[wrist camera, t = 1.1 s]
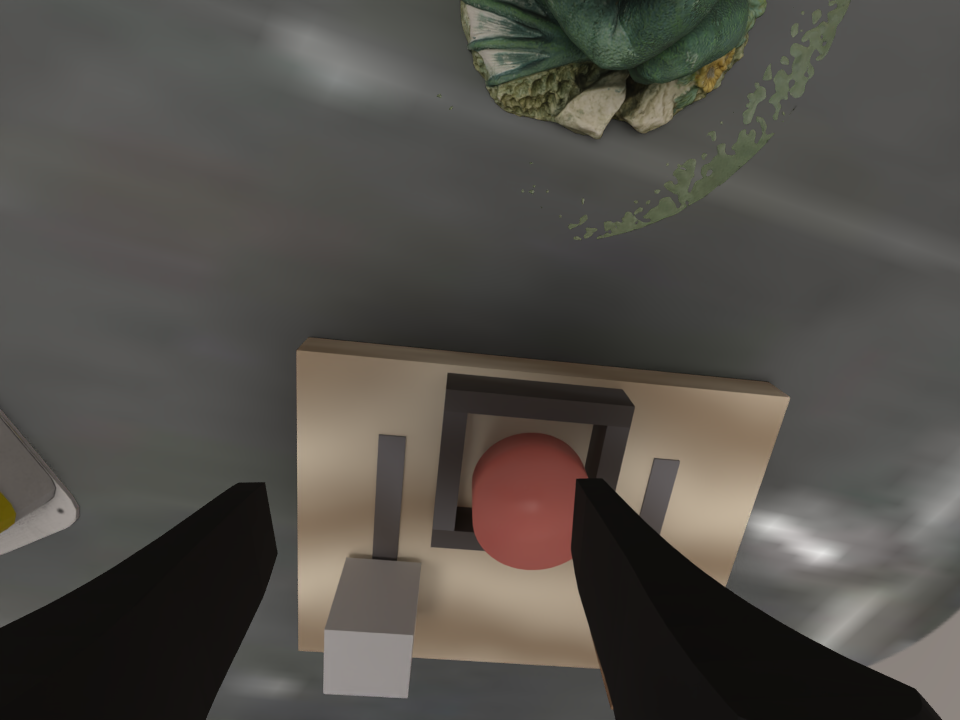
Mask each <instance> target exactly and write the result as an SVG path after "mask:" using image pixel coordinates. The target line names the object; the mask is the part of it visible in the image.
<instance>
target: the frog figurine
mask: <svg viewBox="0 0 960 720" xmlns="http://www.w3.org/2000/svg"><path fill="white" fill-rule="evenodd" d="M460 1H461V22H462V26H463V30H464V33H465V35H466V38H467V41H468V46H467V49H468V50H469V51H471V52H472V55H473V61H474V62H473V64H474V66H475V68H476V70H477V71H479V73H480V74H481V75H482V77H483V78H484V79H485V81H486V82H485V84H486V88H487V90H488V91H489V93H490V96H491V97H492V98H493V99H494V101H495V103H497V105H498V106H500V107H501V108H502V109H503V110H505V111H506V112H509V113H512V114H515V115H518V116H520V117H521V116H525V117H530V118H535V119H538V120H543V121H552V122H556V123H558V124H560V125H562V126H564V127H565V128H567V129H569V130H571V131H573V132H574V133H579V134H582V135H589V136H591V137H592V138H594V139H600V138H601V137H602V134H603V131H604V129H605V128H606V126H607V124H608V123H609V122H610V120H611V118H612V119H617V120H619V121H626V122H627V123H629V124H630V125H631V126H632V127H633V128H634V129H635V130H637V131H638V132H640V133H643V134H644V133H647V132H648V131H651V130H653V129H656V128H658V127H660V126H662V125H664V124H666V123H668V122H669V121H670V120H671V119H672V118H673V116H674V115H675V114H676V113H678V112H679V111H680V110H682V109H684V107H685V106H687V105H689V104H692V103H693V102H695V101H698V100H700V99H702V98H705V97H706V94H707V93H708V92H711V91H712V90H713V89H716V88H718V87H719V86H720V84H721V81H722V79H723V78H724V74H725V73H726V72H727V71H729V70H730V69H731V68H732V66H733V65H734V63H736V62H737V61H739V60H740V59H741V58H742V57H743V49H744V47H745V46H746V44H747V42H748V36H749V35H748V31H749V30H750V29H751V28H752V27H753V26H754V23H755V20H756V18H758V17H760V16H762V15H763V13H764V12H765V9H766V5H767V2H766V0H460ZM850 1H851V0H836V1H831V2H830V1H829V6H833V5H834V4H835V3H837V8H836V9H834V10H833V11H830V12H829V13H828V23H826V22H821V23H820V24H819V26H818V27H816V28H814V29H811V30H809V31H807V32H806V33H805V35H804V36H803V37H802V39H801V41H802V42H805V41H807V40H808V39H809V41H810V46H809V47H804V46H802V45H799V44H797V43H794V44H793V45H792V46H791V49H790V53H791V55H792V56H794V57H795V60H794V62H793V65H792V73H791V74H790V75H787V74H786V73H785V71H784V70H783V69H782V70H780V71H778V73H777V74H776V76H775V77H774V83H775V85H776V86H775V90H776V93H775V94H774V95H773V96H772V97H771V98H770V100H769V103H771V104H773V105H774V107H775V109H776V112H775V114H774V115H773V119H774V120H777V118H778V113H779V111H780V109H781V105H780V103H779V102H780V100H782V99H785V100H787V99H788V96H787V94H788V91H790V95H792V96H793V97H794V98H798V97H800V96H801V95H802V94H803V92H804V91H805V84H806V82H807V81H808V79H810V78H811V77H812V76H813V74H814V68H813V67H812V66H811V64H810V58H811V55H812V53H813V51H814V50H815V49H816V50H818V51H819V53H820V54H821V55H820V56H818V57H817V58H816V60H817V61H820V60H822V59H823V58H824V57H825V55H826V54H827V53H828V51H829V49H830V46H831V44H832V41H833V39H834V37H835V33H836V28H837V25H838V24H839V23H840V22H841V20H842V19H843V17H844V15H845V13H846V11H847V8H848V6H849V3H850ZM843 5H844V6H843ZM793 8H794V7H793ZM801 14H802V15H804V11H802V12H801ZM821 15H822V14H821V11H820V10H819V9H818V10H816V11H814V12H813V13H812V20H813V24H815V23H816V22H817V21H818V20H819V19H820V17H821ZM798 25H799V24H798V23H797V24H796V23H795V24H794V25H793V26H792V28H791V35H792V37H795V36H796V34H797V33H798ZM802 31H803V30H801V31H800V32H802ZM821 35H823V38H822V39H821ZM825 41H827V44H826V45H825V46H822V43H823V42H825ZM780 62H781V64H786V65H788V64H789V60H788V58H787V57H785V56H782V58H781V60H780ZM771 64H772V63H771ZM771 64H770V65H769V66H768V67H767V70H766V71H765V74H764V76H763V80H771V79H772V74H771ZM808 66H809V68H808V70H807V67H808ZM806 70H807V72H808V74H809V77H808V78H807V77H805V76H804V73H805V72H806ZM791 79H794V80H795V84H794V85H793V87H792V88H791V89H789V85H788V83H789V81H790V80H791ZM755 87H756V88H757V89H756V91H755V92H754V93H749V95H748V96H747V98H748V99H749V101H750V102H749V103H748V104H747V105H746V107H748V109H747V110H746V111H744V112H743V117H744V120H743V122H744V124H749V123H750V122H751V120H752V117H753V115H754V112H755V109H756V106H757V104H758V103H759V102H760V101H762V100H764V99H765V98H766V89H765V88H764V87H760V85H759V83H755ZM437 97H440V98H441V94H438V95H437ZM452 108H453V106H451V107H450V108H449V110H451V109H452ZM793 110H794V109H793ZM733 113H734V112H733ZM791 113H792V112H791ZM782 114H783V115H785V113H784V112H782ZM756 121H757V122H759V123H760V124H761V127H762V137H761V139H760V140H759V142H758V143H757V144H756V143H754V140H755V136H756V132H755V130H751V131H750V133H749V134H748V135H747V134H746V129H744V130H742V131H741V132H740V133H739V136H738V140H737V142H736V143H735V144H734V145H733V146H732V150H735V153H736V155H732V156H730V155H727V154H726V153H725V146H726V145H725V144H724V143H722V144H720V145H718V146H717V150H718V155H717V156H715V157H714V158H713V160H712V161H711V162H710V163H708V164H705V165H704V166H703V167H702V169H701V175H702V176H703V178H702V179H701V180H698V181H696V182H695V183H694V186H693V189H692V191H691V192H690V193H688V188H689V185H690V183H691V179H692V178H693V177H694V170H695V166H696V159H689V160H687V161H686V162H685V163H684V164H683V165H680V164H678V168H677V169H676V170H675V171H674V172H673V176H675V177H676V178H677V180H678V184H676V185H674V184H673V181H669V182H666V183H665V184H664V187H665V188H666V189H668V190H669V191H671V192H672V193H674V194H678V200H679V202H680V203H681V206H680V207H679V208H676V205H675V203H674V202H673V201H672V199H671V198H670V197H665V198H662V199H661V200H660V201H659V205H658V206H657V207H655V208H652V209H650V211H649V212H648V213H647V214H646V215H645V216H644V217H643V218H646V219H648V218H649V219H650V220H651V221H650V222H648V223H644V222H641V221H639V220H637V219H636V217H635V216H632V213H631V212H626V213H625V216H624V217H623V218H622V221H623V222H622V223H620V222H615V223H612V222H611V221H607V222H604V227H605V231H608V230H611V231H612V233H611V234H609V233H608V232H607V233H605V234H604V235H603V236H601V235H600V236H598V237H597V239H600V238H603V237H604V238H605V237H609V236H613V235H618V234H622V233H626V232H629V231H632V230H635V229H639V228H642V227H645V226H647V225H649V224H652V223H655V222H657V221H660V220H662V219H663V218H667V217H670V216H673V215H675V214H677V213H679V212H680V211H682V210H683V209H685V208H686V207H687V206H686V204H685V201H688V202H690V203H689V204H688V206H689V205H691V204H693V203H695V202H696V201H698V200H700V199H702V198H703V197H705V196H706V195H707V194H709V193H710V192H711V191H712V190H714V189H715V188H716V187H717V186H718V185H721V184H722V183H724V182H725V181H726V180H727V179H728V178H729V177H730V176H732V175H733V174H734V173H735V172H736V171H737V170H738V169H740V168H741V167H742V166H743V165H744V164H745V163H746V162H747V161H748V160H750V159H751V158H752V157H753V156H754V155H755V154H756V153H757V152H758V151H759V150H760V149H761V148H762V147H763V146H764V145H765V144H766V143H767V141H768V140H769V139H770V138H771V137H772V136H773V135H774V134H775V133H774V134H773V133H771V134H769V135H766V133H765V131H766V127H767V125H766V123H765V121H764V119H763V118H761V117H758V116H757V117H756ZM782 122H784V121H782ZM722 123H723V122H722V121H721V122H720V124H722ZM708 135H710V136H711V137H712V141H715V140H716V133H715V131H711V132H709V133H708ZM706 156H707V154H706V153H703V154H702V156H701V157H702V159H703V160H705V157H706ZM530 164H532V162H530ZM666 165H667V166H668V165H669V163H667V164H666ZM680 167H684V168H685V169H686V170H682V169H680ZM710 169H711V170H713V172H712V174H711V175H710V176H708V177H707V176H706V174H707V171H708V170H710ZM533 187H535V185H533ZM521 192H524V190H522V191H521ZM548 192H549V190H547V191H546V193H548ZM659 192H660V190H655V193H656V194H658V193H659ZM529 193H532V194H533V193H534V190H530V191H529ZM634 203H638V201H637V200H636V201H634ZM649 203H650V201H649V200H648V201H647V202H646V204H649ZM582 204H584V199H583V198H582ZM541 208H542V207H541ZM642 211H643V208H641V207H639V208H638V209H637V210H636V211H635V212H634V215H636V214H637V213H639V212H642ZM559 217H560V218H561V215H559ZM586 220H587V215H584V216H583V217H581V218H580V223H579V224H569V226H568V228H569V229H572V228H574V227H576V226H578V225H581V224H583V222H585V221H586ZM636 221H638V224H635V222H636ZM615 226H617V228H616V227H615ZM585 230H586V231H587V232H586V234H585V235H584V238H585V239H586V238H588V237H590V236H592V234H593V232H595V231H597V228H588V227H587V228H586V229H585ZM573 239H576V240H581V238H580V237H578V236H576V237H574V238H573Z"/></svg>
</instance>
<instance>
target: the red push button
mask: <svg viewBox="0 0 960 720" xmlns="http://www.w3.org/2000/svg"><path fill="white" fill-rule="evenodd" d="M580 478H588V476H587V473H586V471H585V468H584V466H583V463H582V461H581V459H580V457H579V456H578V455H577V453H576V452H575V451H574V450H573V449H572V448H571V447H570V446H569V445H568V444H567V443H565V442H564V441H562V440H560V439H558V438H556V437H553V436H551V435H547V434H542V433H521V434H516V435H512V436H509V437H506V438H504V439H502V440H500V441H498V442H497V443H495V444H494V445H492V446H491V447H490V448H489V449H488V450H487V451H486V452H485V453H484V454H483V455H482V456H481V458H480V459H479V461H478V462H477V464H476V466H475V469H474V472H473V476H472V520H473V529H474V533H475V536H476V538H477V540H478V542H479V544H480V545H481V547H482V548H483V549H484V550H485V552H486V553H487V554H489V555H490V556H491V557H492V558H494V559H495V560H497V561H498V562H500V563H502V564H504V565H507V566H510V567H513V568H517V569H523V570H543V569H548V568H552V567H555V566H559V565H561V564H563V563H566V562H567V561H569V560H571V559H572V554H571V538H572V525H573V512H574V499H575V487H576V479H580Z"/></svg>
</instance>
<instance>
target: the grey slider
mask: <svg viewBox="0 0 960 720" xmlns="http://www.w3.org/2000/svg"><path fill="white" fill-rule="evenodd" d="M420 572H421V563H418V562H404V561H390V560H376V559H361V558H347V557H346V560H345V564H344V567H343V570H342V573H341V577H340V580H339V583H338V587H337V590H336V593H335V596H334V600H333V603H332V606H331V609H330V613H329V616H328V619H327V623H326V626H325V629H324V683H323V694H337V695H356V696H374V697H392V698H408V691H409V681H410V672H411V663H412V653H413V644H414V635H415V626H416V616H417V605H418V594H419V583H420Z"/></svg>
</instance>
